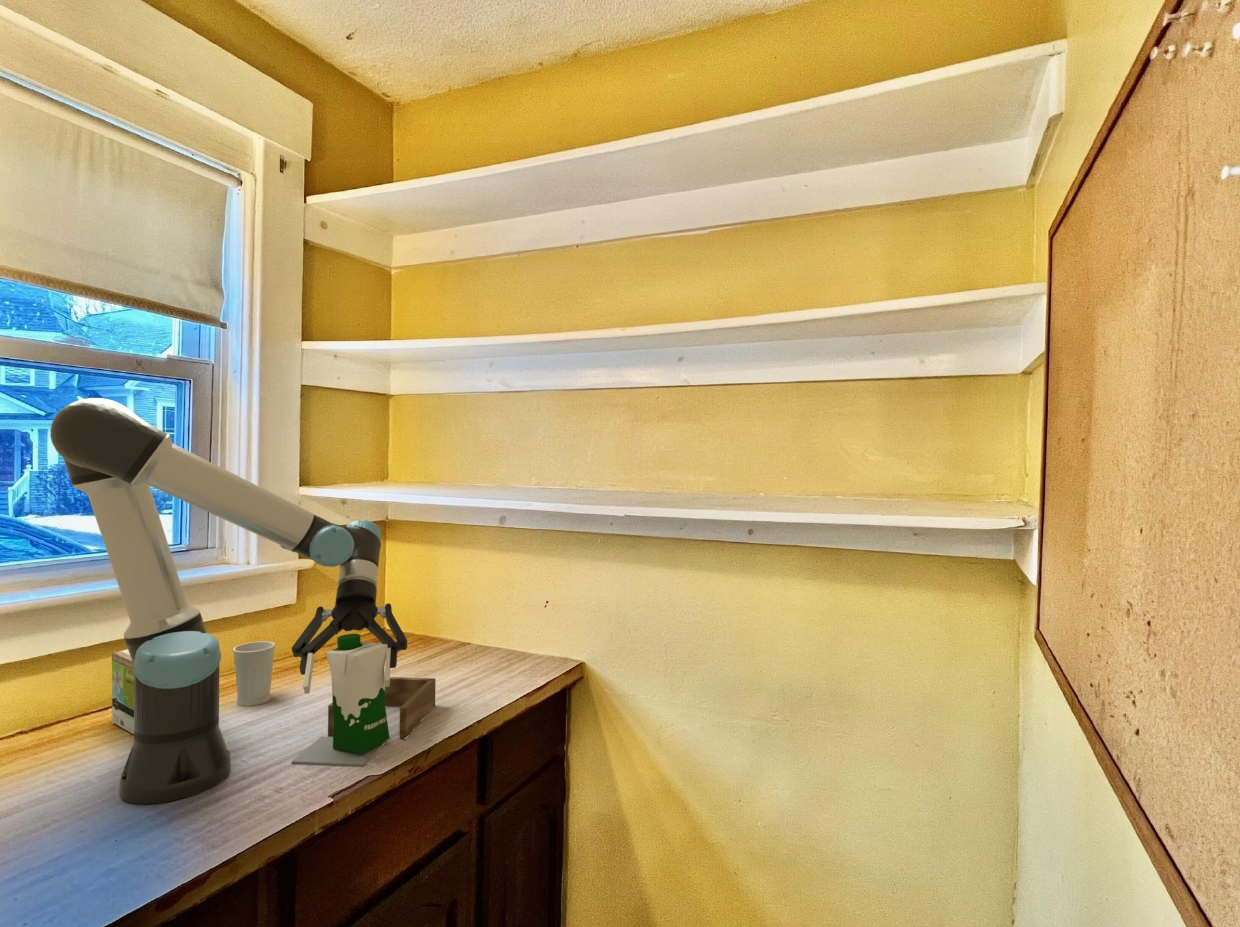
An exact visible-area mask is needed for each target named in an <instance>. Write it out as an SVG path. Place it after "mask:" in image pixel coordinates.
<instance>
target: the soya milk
mask: <svg viewBox="0 0 1240 927" xmlns="http://www.w3.org/2000/svg"><path fill="white" fill-rule="evenodd" d="M336 642H337V647H336V648H333V649H331V650H329V651H326V653H325V654H326V657H327V662H328V665H329V666H328V667H329V671H330V675H331V692H332V693H331V696H332V698H331V699H332V702H333V749H336V750H341V751H346V752H352V753H357V754H363V753H364V752H366V751H368V750H370V749H372V748H373V747H375V746H377V745H379V744H381V743H383V742H384V741H386V740H387V741H388V740H390V738H391V736H390V731H389V725H388V724H389V723H388V717H387V716H388V715H387V706H386V700H385V681H384V680H385V663H386V651H387V647H388V645H387V644H382V643H378V642H369V641H368V642H367V641H361V634H359V633H347V634H343V635H340V636H338V637H337V640H336Z"/></svg>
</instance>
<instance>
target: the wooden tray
mask: <svg viewBox="0 0 1240 927" xmlns="http://www.w3.org/2000/svg"><path fill="white" fill-rule="evenodd" d="M385 700H386V707H393V708H394V707H397V708H398V707H399V740H405V739H404V738H406V737H407V736H408V735H409V734H410V733H411V732H412V731H413V732H414V730H415V729H416V728H417V727H418V726H419V725H420V724H421V723H422V721H423V720H424V719H425V718H426V717H427V716H428V715H429V713H431V711H432V710H433V709H434V708H435V707H434V706H436V678H427V677H405V676H404V677H403V676H401V677H400V676H398V677H397V676H395V677H394V676H390V682H389V687H385ZM433 707H434V708H433ZM327 708H328V709H327V737H333V701H332V702H331V703H330V704H328V705H327ZM431 709H432V710H431ZM430 710H431V711H430ZM427 714H428V715H427ZM426 715H427V716H426ZM425 716H426V717H425ZM424 717H425V718H424ZM423 718H424V719H423ZM422 719H423V720H422ZM421 720H422V721H421ZM419 723H420V724H419ZM418 724H419V725H418ZM417 725H418V726H417ZM416 726H417V727H416ZM415 727H416V728H415ZM414 728H415V729H414ZM413 729H414V730H413ZM413 732H412V733H413ZM412 733H411V734H412ZM411 734H410V735H411ZM410 735H409V736H410ZM409 736H408V737H409ZM408 737H407V738H408ZM407 738H406V739H407Z"/></svg>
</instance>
